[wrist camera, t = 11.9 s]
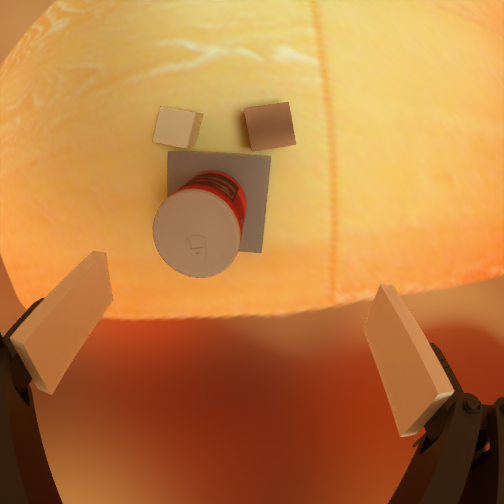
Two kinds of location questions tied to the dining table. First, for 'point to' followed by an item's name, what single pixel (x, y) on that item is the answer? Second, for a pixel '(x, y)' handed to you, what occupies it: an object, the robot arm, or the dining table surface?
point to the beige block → (177, 127)
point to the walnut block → (270, 126)
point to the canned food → (201, 225)
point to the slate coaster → (238, 167)
